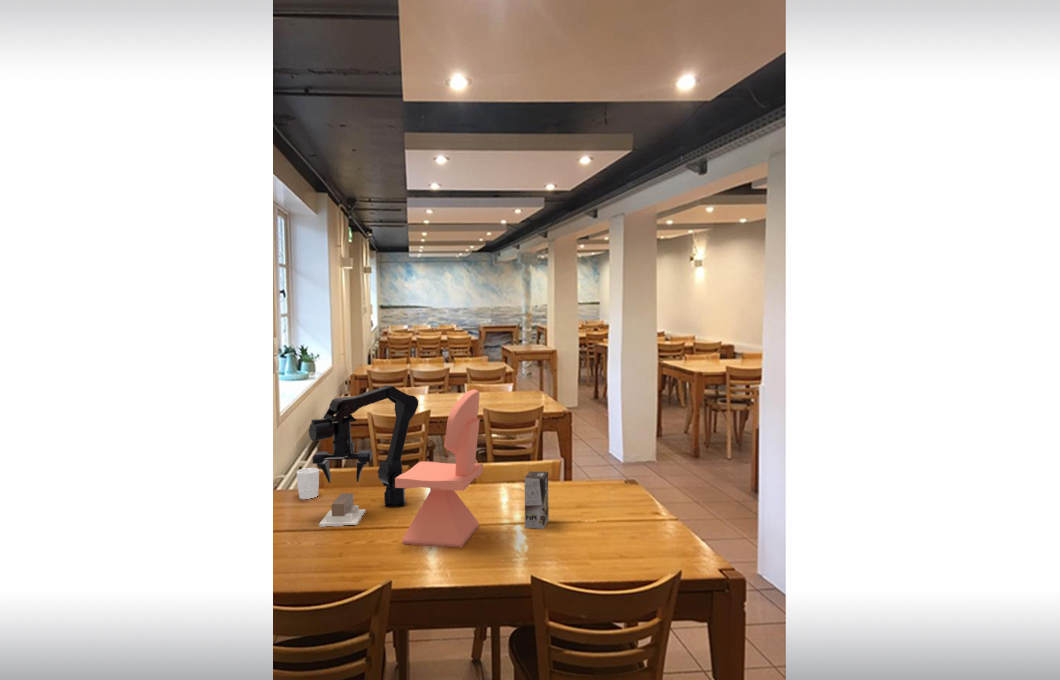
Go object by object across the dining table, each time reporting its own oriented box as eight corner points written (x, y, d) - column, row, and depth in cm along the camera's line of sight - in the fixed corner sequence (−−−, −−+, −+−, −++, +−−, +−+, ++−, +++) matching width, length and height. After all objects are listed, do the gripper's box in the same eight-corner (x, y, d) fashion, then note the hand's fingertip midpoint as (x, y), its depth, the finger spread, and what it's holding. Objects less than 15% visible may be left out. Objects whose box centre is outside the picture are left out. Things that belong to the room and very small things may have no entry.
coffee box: (544, 529, 207) (543, 478, 206) (524, 528, 208) (523, 477, 207) (549, 519, 216) (548, 471, 215) (530, 518, 217) (529, 470, 216)
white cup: (315, 500, 241) (314, 473, 241) (294, 500, 241) (293, 473, 241) (322, 493, 249) (321, 467, 248) (302, 494, 249) (301, 467, 249)
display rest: (365, 512, 226) (365, 503, 226) (356, 525, 212) (356, 516, 212) (330, 513, 226) (330, 504, 226) (319, 526, 212) (318, 517, 212)
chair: (425, 519, 218) (422, 383, 216) (491, 522, 214) (488, 384, 211) (392, 549, 192) (388, 395, 189) (466, 554, 187) (463, 396, 185)
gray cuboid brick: (341, 505, 225) (341, 493, 225) (353, 504, 225) (353, 493, 225) (331, 516, 213) (331, 504, 213) (344, 516, 213) (343, 503, 213)
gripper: (374, 430, 229) (376, 474, 230) (319, 432, 228) (321, 476, 229) (368, 437, 218) (370, 483, 219) (311, 439, 216) (313, 485, 217)
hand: (343, 482), depth 221 cm, fingers open, 9 cm apart
